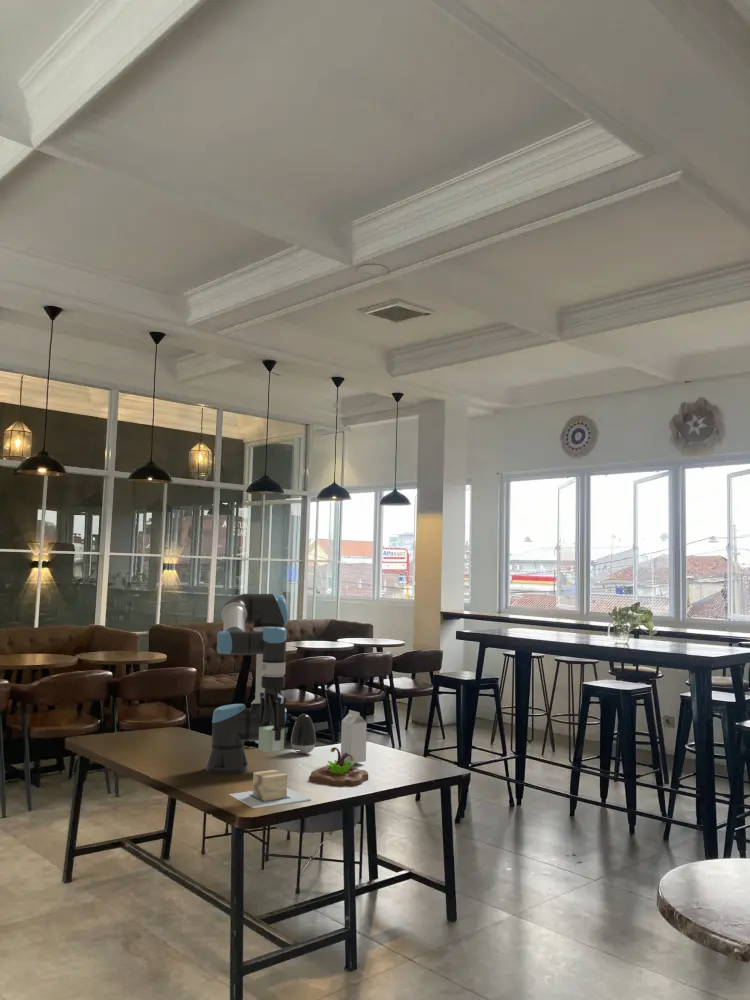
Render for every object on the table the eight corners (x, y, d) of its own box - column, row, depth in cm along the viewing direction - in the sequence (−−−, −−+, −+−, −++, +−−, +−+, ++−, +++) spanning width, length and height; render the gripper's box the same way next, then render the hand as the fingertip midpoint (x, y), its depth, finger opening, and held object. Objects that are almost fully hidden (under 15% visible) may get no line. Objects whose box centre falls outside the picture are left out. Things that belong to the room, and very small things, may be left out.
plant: (323, 771, 298) (324, 740, 299) (373, 776, 292) (374, 744, 293) (301, 783, 280) (302, 750, 281) (354, 789, 273) (355, 755, 274)
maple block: (252, 795, 258) (253, 772, 259) (274, 791, 263) (275, 769, 264) (263, 800, 252) (264, 777, 252) (286, 797, 256) (287, 774, 257)
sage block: (258, 749, 259) (259, 726, 260) (275, 747, 263) (275, 725, 263) (266, 752, 254) (267, 729, 255) (283, 750, 258) (284, 728, 258)
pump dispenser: (289, 749, 333) (290, 711, 335) (314, 749, 334) (315, 711, 336) (290, 754, 323) (291, 716, 324) (316, 754, 324) (317, 716, 326)
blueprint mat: (228, 797, 259) (228, 793, 259) (284, 789, 270) (284, 786, 270) (253, 811, 244) (253, 807, 244) (310, 802, 255) (311, 798, 255)
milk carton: (355, 758, 319) (356, 709, 321) (365, 761, 313) (367, 711, 315) (340, 760, 315) (341, 710, 317) (350, 764, 309) (352, 713, 311)
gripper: (249, 673, 267) (247, 744, 264) (276, 679, 251) (274, 755, 249) (270, 671, 271) (268, 742, 269) (297, 678, 255) (295, 753, 253)
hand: (271, 748), depth 259 cm, fingers closed on sage block, 6 cm apart
